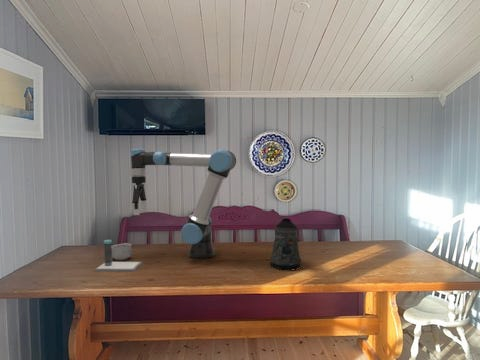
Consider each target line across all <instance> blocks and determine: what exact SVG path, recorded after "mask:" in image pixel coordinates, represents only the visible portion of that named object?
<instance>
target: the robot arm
mask: <svg viewBox="0 0 480 360" xmlns="http://www.w3.org/2000/svg"><path fill="white" fill-rule="evenodd" d="M130 159H131V163H130V165H131V170H130V173H131V176H132V177H131V183H132V184H134V185H133V194H132V201H131V203H132V204H133V215H134V216H140V214H141V213H146V201H147V197H146V196H147V195H146V190H145V183H146V182H147V181H146V179H147V178H146V166H176V167H178V166H179V167H181V166H182V167H200V168H201V167H205V168H207V169H206V171H207V173H208V175H207V178H206V180H205V181H204V185H203V187H202V190H201V193H200V196H199V197H198V200H197V202H196V205H195V208H194V211H193V213H192V214H189V216H188V218H187V220H186V223H185V224H184V225H183V226H182V228H181V231H180V236H181V237H182V240H183V241H184V242H185V243H186V244H188V245H190V246H189V249H188V257H190V258H193V259H209V258H212V257H214V256H215V249H214V247H213V243H212V218H211V217H210V215H211V211H212V209H213V207H214V204H215V202H216V199H217V197H218V194H219V192H220V189H221V187H222V184H223V182H224V180H226V179H227V178H228V177H229V174H230V171H232V170H233V169H234V168H235V167H236V165H237V158H236V155H235V153H234V152H232V151H230V150H225V149H217V150H216V151H213V152H212V153H189V152H188V153H187V152H186V153H185V152H165V151H159V150H158V151H148V152H147V151H146V150H145V149H144V148H132V149H131V152H130ZM208 257H209V258H208Z"/></svg>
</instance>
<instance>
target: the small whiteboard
mask: <svg viewBox="0 0 480 360" xmlns="http://www.w3.org/2000/svg"><path fill="white" fill-rule="evenodd" d="M142 264H143V261H112V265H111V266H105V261H104V262H103V263H101V264H100V265H99V266H97V267H96V268H94V271H95V272H135V271H136V270H137V269H138V268H139V267H140V266H141V265H142Z"/></svg>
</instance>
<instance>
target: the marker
mask: <svg viewBox="0 0 480 360" xmlns="http://www.w3.org/2000/svg"><path fill="white" fill-rule="evenodd" d="M112 242H113V241H112V239H104V240H103V249H104V251H103V252H104V258H103V259H104V262H105V266H111V265H112V262H113V256H112V246H113V245H112Z"/></svg>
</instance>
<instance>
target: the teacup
mask: <svg viewBox="0 0 480 360" xmlns="http://www.w3.org/2000/svg"><path fill="white" fill-rule="evenodd" d="M131 255H132V244H131V243H127V242H125V243H119V244H114V245H112V259H115V261H126V260H128V259H129V258H130V257H131Z"/></svg>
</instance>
